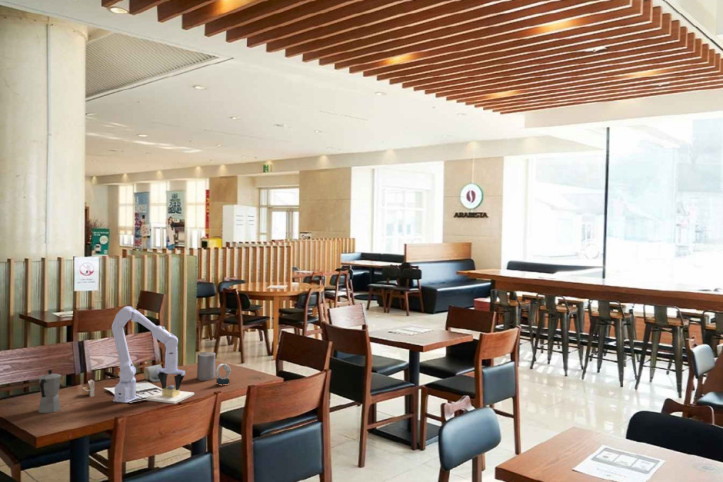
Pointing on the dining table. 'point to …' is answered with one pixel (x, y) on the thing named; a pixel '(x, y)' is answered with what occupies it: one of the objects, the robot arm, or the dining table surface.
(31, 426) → the dining table surface
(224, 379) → the watch
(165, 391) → the wooden square ring
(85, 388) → the architectural model
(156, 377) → the ceramic mug
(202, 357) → the pillar candle
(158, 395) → the post stand
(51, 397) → the coffeepot
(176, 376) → the robot arm
